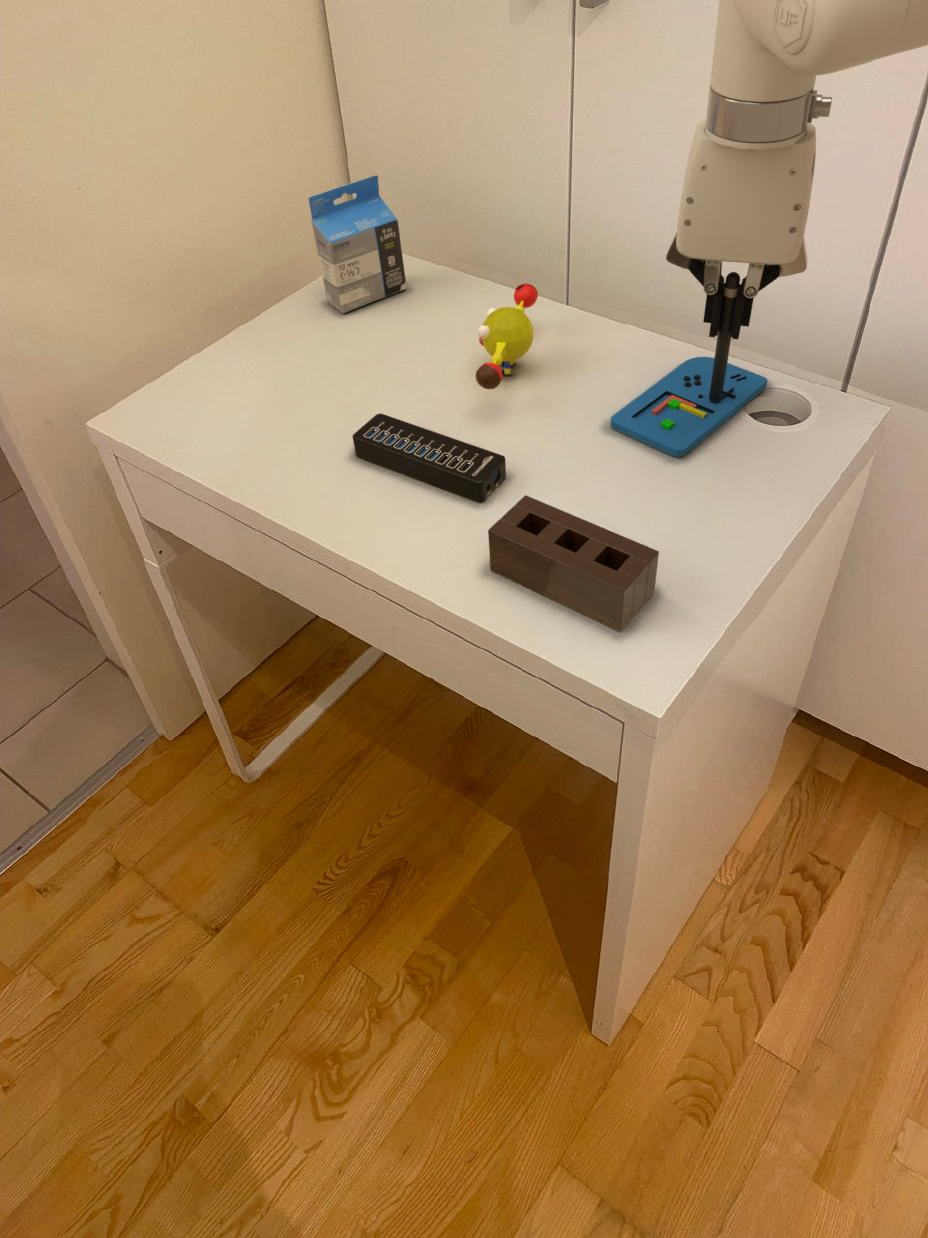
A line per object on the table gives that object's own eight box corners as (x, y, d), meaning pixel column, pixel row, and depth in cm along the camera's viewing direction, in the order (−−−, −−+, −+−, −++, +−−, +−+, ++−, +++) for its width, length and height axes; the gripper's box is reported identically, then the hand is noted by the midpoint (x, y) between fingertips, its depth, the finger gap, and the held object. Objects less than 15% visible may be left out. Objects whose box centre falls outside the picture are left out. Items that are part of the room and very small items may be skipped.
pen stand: (526, 535, 81) (525, 494, 78) (654, 592, 76) (659, 551, 73) (490, 570, 79) (487, 529, 75) (620, 632, 73) (624, 591, 70)
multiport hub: (381, 431, 93) (378, 411, 91) (508, 476, 87) (507, 456, 85) (353, 455, 91) (350, 435, 89) (482, 504, 85) (480, 483, 83)
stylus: (721, 399, 92) (741, 269, 82) (720, 406, 91) (740, 276, 81) (708, 398, 92) (727, 268, 82) (707, 405, 91) (725, 275, 82)
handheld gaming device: (770, 375, 93) (681, 449, 86) (768, 385, 94) (680, 459, 87) (698, 348, 97) (607, 416, 90) (697, 357, 98) (607, 426, 91)
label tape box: (342, 315, 109) (323, 208, 100) (325, 301, 111) (306, 195, 102) (407, 290, 112) (395, 184, 103) (390, 277, 114) (376, 172, 105)
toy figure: (502, 323, 106) (500, 264, 101) (551, 327, 104) (551, 268, 99) (458, 417, 94) (453, 356, 89) (513, 423, 93) (511, 361, 88)
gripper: (866, 97, 73) (817, 317, 86) (662, 90, 77) (645, 302, 90) (864, 135, 68) (813, 361, 82) (647, 125, 72) (631, 344, 85)
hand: (725, 329), depth 86 cm, fingers closed on stylus, 1 cm apart
